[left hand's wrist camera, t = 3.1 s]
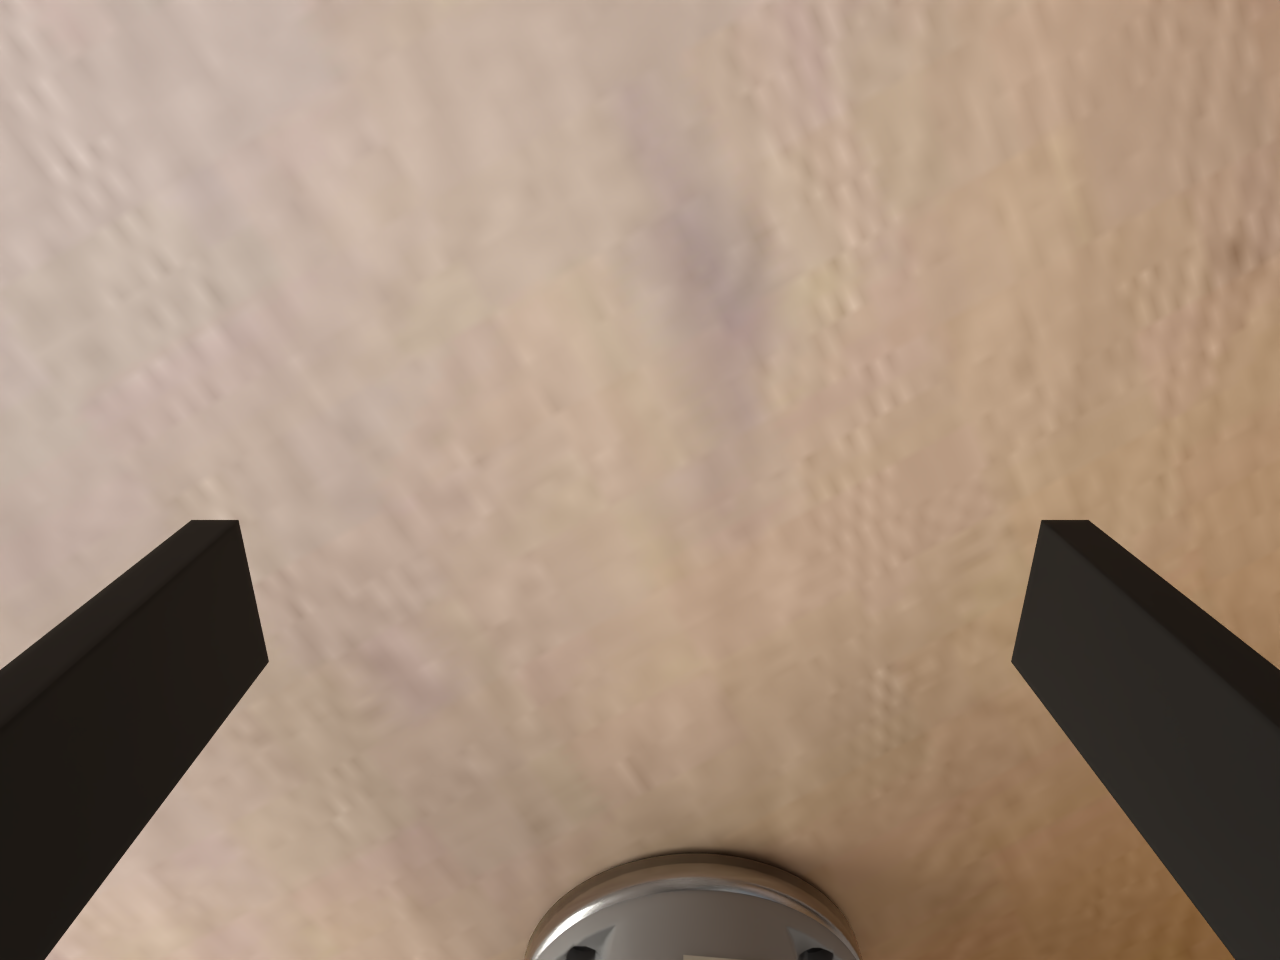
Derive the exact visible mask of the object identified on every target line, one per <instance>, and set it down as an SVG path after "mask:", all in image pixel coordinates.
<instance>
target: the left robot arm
mask: <svg viewBox="0 0 1280 960" xmlns="http://www.w3.org/2000/svg"><path fill="white" fill-rule="evenodd" d="M268 662H269V660H268V656H267V651H266V646H265V642H264V637H263V632H262V628H261V623H260V618H259V614H258V609H257V604H256V600H255V595H254V590H253V586H252V581H251V576H250V572H249V567H248V562H247V558H246V553H245V548H244V544H243V539H242V534H241V530H240V525H239V520H191V521H190V522H189V523H187V524H186V525H185V526H183V527H182V528H181V529H180V530H178V531H177V532H176V533H175V534H173V535H172V536H171V537H169V538H168V539H167V540H166V541H164V542H163V543H162V544H160V545H159V546H158V547H157V548H155V549H154V550H153V551H152V552H150V553H149V554H148V555H146V556H145V557H144V558H143V559H141V560H140V561H139V562H138V563H136V564H135V565H134V566H132V567H131V568H130V569H129V570H127V571H126V572H125V573H124V574H122V575H121V576H120V577H118V578H117V579H116V580H115V581H113V582H112V583H111V584H109V585H108V586H107V587H106V588H104V589H103V590H102V591H101V592H99V593H98V594H97V595H95V596H94V597H93V598H92V599H90V600H89V601H88V602H87V603H85V604H84V605H83V606H81V607H80V608H79V609H78V610H76V611H75V612H74V613H73V614H71V615H70V616H69V617H67V618H66V619H65V620H64V621H62V622H61V623H60V624H58V625H57V626H56V627H55V628H53V629H52V630H51V631H50V632H48V633H47V634H46V635H44V636H43V637H42V638H41V639H39V640H38V641H37V642H36V643H34V644H33V645H32V646H30V647H29V648H28V649H27V650H25V651H24V652H23V653H22V654H20V655H19V656H18V657H16V658H15V659H14V660H13V661H11V662H10V663H9V664H7V665H6V666H5V667H4V668H2V669H1V670H0V960H45V958H46V957H47V956H48V954H49V953H50V952H51V950H52V949H53V948H54V946H55V945H56V944H57V942H58V941H59V940H60V938H61V937H62V936H63V934H64V933H65V932H66V931H67V929H68V928H69V927H70V925H71V924H72V923H73V921H74V920H75V919H76V917H77V916H78V915H79V913H80V912H81V911H82V909H83V908H84V907H85V905H86V904H87V903H88V901H89V900H90V899H91V897H92V896H93V895H94V893H95V892H96V891H97V889H98V888H99V887H100V885H101V884H102V883H103V881H104V880H105V879H106V877H107V876H108V875H109V873H110V872H111V871H112V869H113V868H114V867H115V865H116V864H117V863H118V861H119V860H120V859H121V857H122V856H123V855H124V853H125V852H126V851H127V849H128V848H129V847H130V845H131V844H132V843H133V841H134V840H135V839H136V837H137V836H138V835H139V834H140V832H141V831H142V830H143V828H144V827H145V826H146V824H147V823H148V822H149V820H150V819H151V818H152V816H153V815H154V814H155V812H156V811H157V810H158V808H159V807H160V806H161V804H162V803H163V802H164V800H165V799H166V798H167V796H168V795H169V794H170V792H171V791H172V790H173V788H174V787H175V786H176V784H177V783H178V782H179V780H180V779H181V778H182V776H183V775H184V774H185V772H186V771H187V770H188V768H189V767H190V766H191V764H192V763H193V762H194V760H195V759H196V758H197V756H198V755H199V754H200V752H201V751H202V750H203V748H204V747H205V746H206V744H207V743H208V742H209V740H210V739H211V738H212V737H213V735H214V734H215V733H216V731H217V730H218V729H219V727H220V726H221V725H222V723H223V722H224V721H225V719H226V718H227V717H228V715H229V714H230V713H231V711H232V710H233V709H234V707H235V706H236V705H237V703H238V702H239V701H240V699H241V698H242V697H243V695H244V694H245V693H246V691H247V690H248V689H249V687H250V686H251V685H252V683H253V682H254V681H255V679H256V678H257V677H258V675H259V674H260V673H261V671H262V670H263V669H264V667H265V666H266V665H267V663H268ZM1011 662H1012V663H1013V665H1014V666H1015V667H1016V669H1017V670H1018V671H1019V673H1020V674H1021V675H1022V677H1023V678H1024V679H1025V681H1026V682H1027V683H1028V685H1029V686H1030V687H1031V689H1032V690H1033V691H1034V693H1035V694H1036V695H1037V697H1038V698H1039V699H1040V701H1041V702H1042V703H1043V705H1044V706H1045V707H1046V709H1047V710H1048V711H1049V713H1050V714H1051V715H1052V717H1053V718H1054V719H1055V721H1056V722H1057V723H1058V725H1059V726H1060V727H1061V729H1062V730H1063V731H1064V733H1065V734H1066V735H1067V737H1068V738H1069V739H1070V740H1071V742H1072V743H1073V744H1074V746H1075V747H1076V748H1077V750H1078V751H1079V752H1080V754H1081V755H1082V756H1083V758H1084V759H1085V760H1086V762H1087V763H1088V764H1089V766H1090V767H1091V768H1092V770H1093V771H1094V772H1095V774H1096V775H1097V776H1098V778H1099V779H1100V780H1101V782H1102V783H1103V784H1104V786H1105V787H1106V788H1107V790H1108V791H1109V792H1110V794H1111V795H1112V796H1113V798H1114V799H1115V800H1116V802H1117V803H1118V804H1119V806H1120V807H1121V808H1122V810H1123V811H1124V812H1125V814H1126V815H1127V816H1128V818H1129V819H1130V820H1131V822H1132V823H1133V824H1134V826H1135V827H1136V828H1137V830H1138V831H1139V832H1140V834H1141V835H1142V836H1143V837H1144V839H1145V840H1146V841H1147V843H1148V844H1149V845H1150V847H1151V848H1152V849H1153V851H1154V852H1155V853H1156V855H1157V856H1158V857H1159V859H1160V860H1161V861H1162V863H1163V864H1164V865H1165V867H1166V868H1167V869H1168V871H1169V872H1170V873H1171V875H1172V876H1173V877H1174V879H1175V880H1176V881H1177V883H1178V884H1179V885H1180V887H1181V888H1182V889H1183V891H1184V892H1185V893H1186V895H1187V896H1188V897H1189V899H1190V900H1191V901H1192V903H1193V904H1194V905H1195V907H1196V908H1197V909H1198V911H1199V912H1200V913H1201V915H1202V916H1203V917H1204V919H1205V920H1206V921H1207V923H1208V924H1209V925H1210V927H1211V928H1212V929H1213V931H1214V932H1215V933H1216V935H1217V936H1218V937H1219V938H1220V940H1221V941H1222V942H1223V944H1224V945H1225V946H1226V948H1227V949H1228V950H1229V952H1230V953H1231V954H1232V956H1233V957H1234V958H1235V960H1280V670H1279V669H1278V668H1276V667H1275V666H1274V665H1273V664H1271V663H1270V662H1269V661H1267V660H1266V659H1265V658H1264V657H1262V656H1261V655H1260V654H1258V653H1257V652H1256V651H1255V650H1253V649H1252V648H1251V647H1250V646H1248V645H1247V644H1246V643H1244V642H1243V641H1242V640H1241V639H1239V638H1238V637H1237V636H1236V635H1234V634H1233V633H1232V632H1230V631H1229V630H1228V629H1227V628H1225V627H1224V626H1223V625H1222V624H1220V623H1219V622H1218V621H1216V620H1215V619H1214V618H1213V617H1211V616H1210V615H1209V614H1207V613H1206V612H1205V611H1204V610H1202V609H1201V608H1200V607H1199V606H1197V605H1196V604H1195V603H1193V602H1192V601H1191V600H1190V599H1188V598H1187V597H1186V596H1185V595H1183V594H1182V593H1181V592H1179V591H1178V590H1177V589H1176V588H1174V587H1173V586H1172V585H1171V584H1169V583H1168V582H1167V581H1165V580H1164V579H1163V578H1162V577H1160V576H1159V575H1158V574H1156V573H1155V572H1154V571H1153V570H1151V569H1150V568H1149V567H1148V566H1146V565H1145V564H1144V563H1142V562H1141V561H1140V560H1139V559H1137V558H1136V557H1135V556H1134V555H1132V554H1131V553H1130V552H1128V551H1127V550H1126V549H1125V548H1123V547H1122V546H1121V545H1120V544H1118V543H1117V542H1116V541H1114V540H1113V539H1112V538H1111V537H1109V536H1108V535H1107V534H1105V533H1104V532H1103V531H1102V530H1100V529H1099V528H1098V527H1097V526H1095V525H1094V524H1093V523H1091V522H1090V521H1089V520H1041V525H1040V530H1039V534H1038V539H1037V544H1036V548H1035V553H1034V558H1033V562H1032V567H1031V572H1030V576H1029V581H1028V586H1027V590H1026V595H1025V600H1024V604H1023V609H1022V614H1021V618H1020V623H1019V628H1018V632H1017V637H1016V642H1015V646H1014V651H1013V656H1012V660H1011ZM525 960H862V957H861V954H860V950H859V946H858V943H857V940H856V938H855V935H854V933H853V931H852V929H851V927H850V925H849V923H848V921H847V920H846V918H845V917H844V916H843V914H842V913H841V911H840V910H839V909H838V908H837V907H836V906H835V905H834V904H833V902H832V901H830V900H829V899H828V898H827V897H826V896H825V895H824V894H823V893H821V892H820V891H819V890H817V889H816V888H815V887H813V886H812V885H810V884H809V883H807V882H805V881H804V880H802V879H800V878H799V877H797V876H795V875H793V874H790V873H788V872H786V871H784V870H782V869H779V868H776V867H774V866H771V865H768V864H765V863H761V862H758V861H754V860H751V859H745V858H740V857H735V856H728V855H719V854H703V853H691V854H673V855H664V856H657V857H652V858H646V859H642V860H638V861H634V862H630V863H627V864H624V865H621V866H618V867H615V868H612V869H610V870H607V871H605V872H603V873H600V874H598V875H596V876H594V877H592V878H590V879H589V880H587V881H585V882H583V883H581V884H580V885H578V886H577V887H575V888H574V889H572V890H571V891H570V892H568V893H567V894H566V895H565V896H563V897H562V898H561V899H560V900H559V901H557V903H556V904H555V905H554V906H553V907H552V908H551V909H550V910H549V911H548V912H547V913H546V914H545V916H544V917H543V918H542V919H541V921H540V922H539V924H538V926H537V927H536V929H535V931H534V932H533V934H532V937H531V939H530V941H529V944H528V947H527V951H526V954H525Z"/></svg>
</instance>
